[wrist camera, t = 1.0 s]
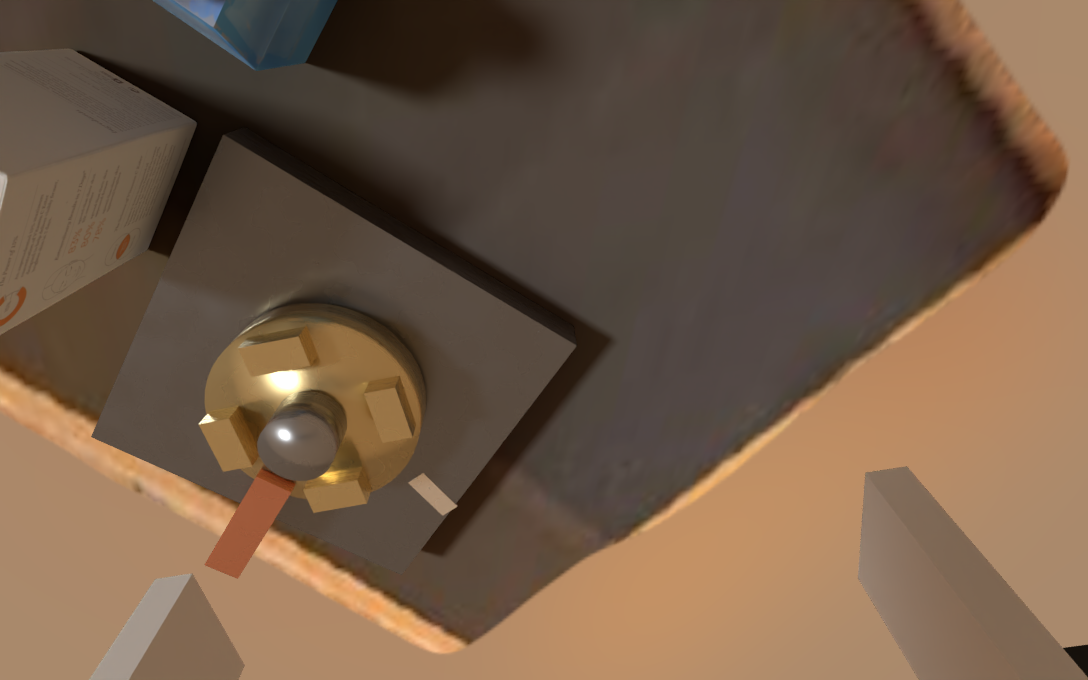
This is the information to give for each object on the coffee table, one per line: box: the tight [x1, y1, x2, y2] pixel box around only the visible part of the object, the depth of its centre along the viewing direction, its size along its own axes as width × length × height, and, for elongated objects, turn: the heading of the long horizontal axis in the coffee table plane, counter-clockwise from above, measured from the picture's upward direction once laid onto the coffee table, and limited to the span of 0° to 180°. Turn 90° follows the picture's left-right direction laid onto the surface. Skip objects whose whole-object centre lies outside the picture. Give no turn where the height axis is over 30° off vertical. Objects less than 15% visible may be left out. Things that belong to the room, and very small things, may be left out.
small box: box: [0, 49, 197, 335], centre depth 27 cm, size 8×6×13 cm
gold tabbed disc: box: [199, 303, 426, 578], centre depth 35 cm, size 18×11×4 cm, turn 146°
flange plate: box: [91, 127, 577, 575], centre depth 35 cm, size 20×20×8 cm
